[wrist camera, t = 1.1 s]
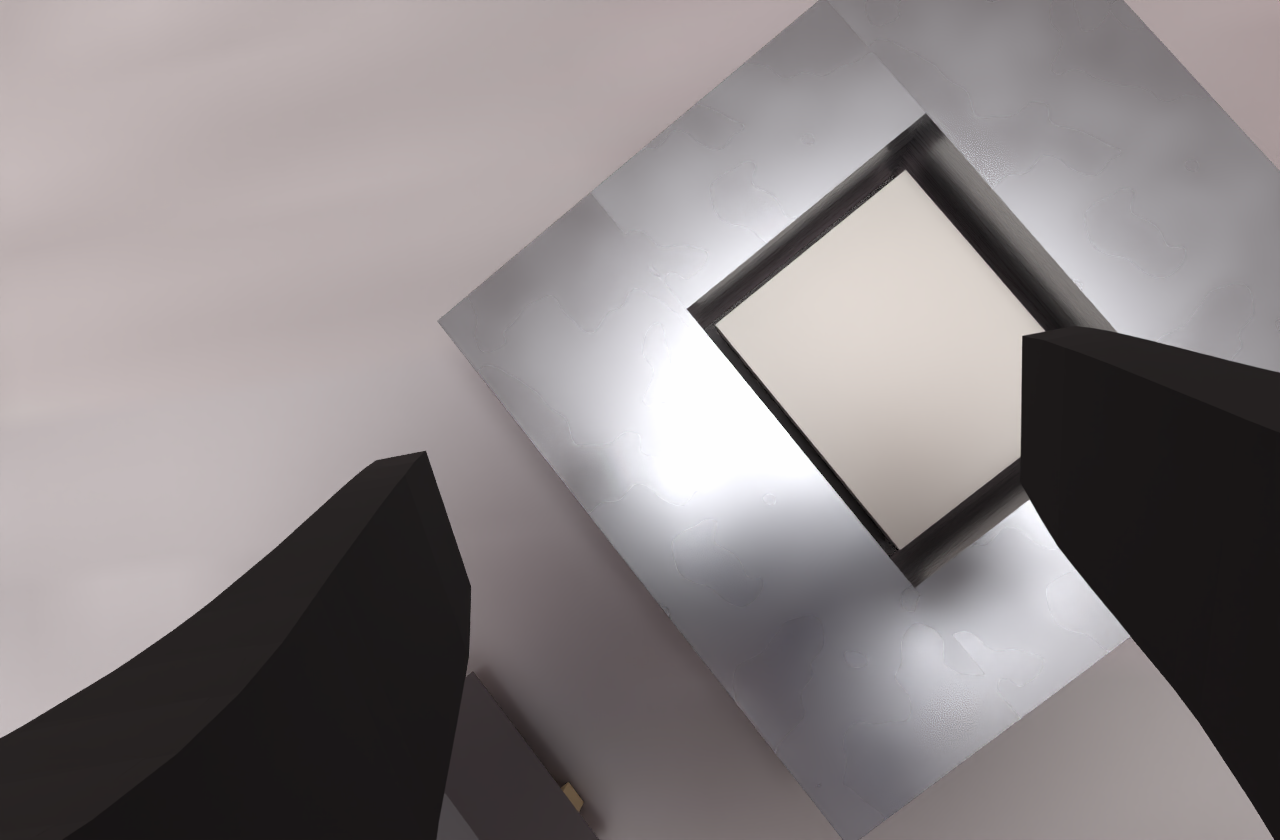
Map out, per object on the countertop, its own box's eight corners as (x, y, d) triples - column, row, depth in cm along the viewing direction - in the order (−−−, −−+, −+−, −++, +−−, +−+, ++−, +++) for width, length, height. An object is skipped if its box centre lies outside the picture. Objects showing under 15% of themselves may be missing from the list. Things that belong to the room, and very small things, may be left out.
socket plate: (830, 772, 21) (848, 847, 17) (492, 342, 23) (437, 321, 19) (1330, 393, 20) (1471, 381, 16) (946, -36, 21) (990, -144, 18)
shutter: (892, 544, 20) (899, 550, 19) (716, 330, 21) (715, 324, 20) (1082, 397, 20) (1100, 394, 19) (897, 182, 20) (905, 169, 20)
